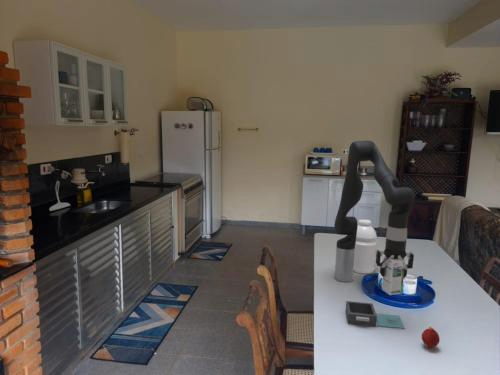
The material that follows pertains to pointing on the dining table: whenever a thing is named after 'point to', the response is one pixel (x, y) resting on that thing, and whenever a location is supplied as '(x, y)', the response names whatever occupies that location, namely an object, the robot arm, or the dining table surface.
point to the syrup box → (393, 276)
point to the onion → (430, 337)
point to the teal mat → (389, 321)
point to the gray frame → (361, 318)
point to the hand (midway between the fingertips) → (392, 276)
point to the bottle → (365, 248)
